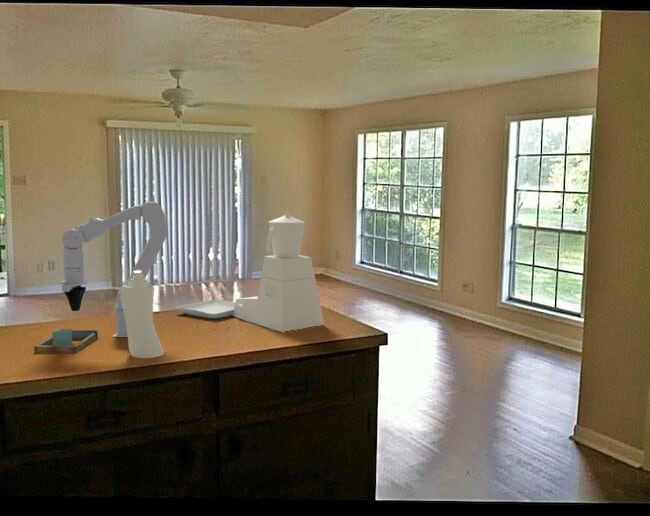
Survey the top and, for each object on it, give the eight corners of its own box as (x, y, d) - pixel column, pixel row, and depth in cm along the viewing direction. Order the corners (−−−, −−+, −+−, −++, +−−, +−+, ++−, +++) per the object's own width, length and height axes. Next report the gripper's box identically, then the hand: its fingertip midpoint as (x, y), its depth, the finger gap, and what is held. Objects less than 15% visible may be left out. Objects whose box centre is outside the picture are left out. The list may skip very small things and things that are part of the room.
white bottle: (124, 365, 173) (122, 274, 169) (120, 355, 182) (118, 269, 179) (167, 360, 177) (166, 272, 174) (161, 351, 187) (159, 267, 184)
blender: (229, 317, 233) (229, 209, 228) (271, 311, 245) (271, 208, 240) (280, 335, 207) (281, 214, 203) (324, 328, 219) (326, 212, 214)
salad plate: (215, 306, 254) (215, 298, 254) (254, 313, 242) (254, 305, 242) (174, 315, 237) (174, 306, 237) (214, 323, 225) (214, 314, 224)
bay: (96, 341, 197) (95, 333, 197) (76, 355, 181) (76, 346, 181) (57, 340, 197) (57, 332, 197) (34, 354, 181) (34, 346, 181)
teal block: (72, 348, 189) (71, 328, 188) (67, 351, 185) (66, 331, 184) (58, 348, 189) (58, 328, 188) (53, 351, 185) (52, 331, 184)
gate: (98, 338, 199) (98, 329, 199) (97, 339, 198) (97, 330, 198) (57, 339, 198) (57, 329, 198) (56, 339, 197) (56, 330, 197)
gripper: (70, 264, 204) (72, 305, 205) (51, 270, 189) (53, 315, 191) (92, 264, 204) (93, 305, 205) (74, 271, 189) (76, 315, 191)
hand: (75, 310), depth 198 cm, fingers closed
